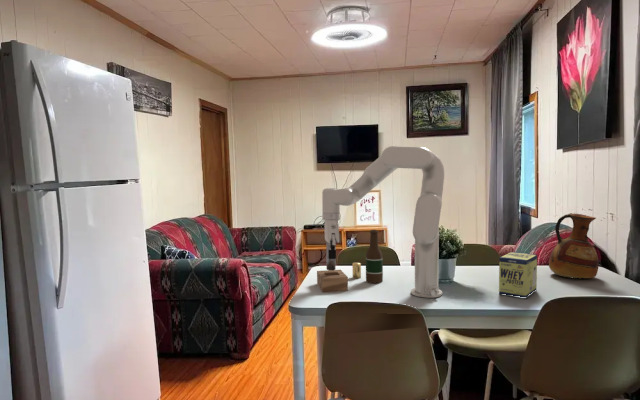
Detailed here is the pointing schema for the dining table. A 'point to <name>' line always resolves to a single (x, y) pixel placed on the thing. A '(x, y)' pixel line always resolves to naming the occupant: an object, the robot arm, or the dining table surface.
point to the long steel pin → (329, 262)
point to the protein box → (517, 274)
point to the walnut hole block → (332, 280)
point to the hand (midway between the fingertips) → (331, 257)
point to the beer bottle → (374, 260)
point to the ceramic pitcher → (575, 250)
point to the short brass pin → (356, 270)
